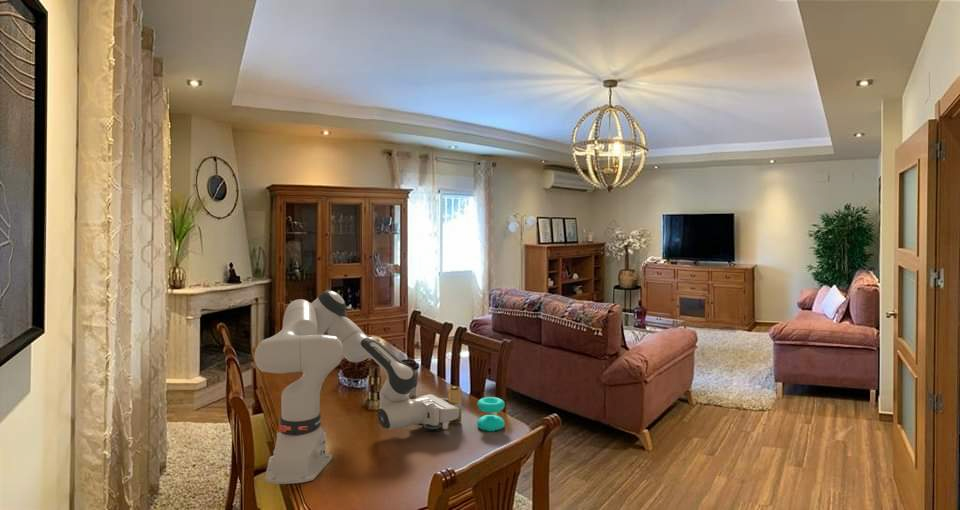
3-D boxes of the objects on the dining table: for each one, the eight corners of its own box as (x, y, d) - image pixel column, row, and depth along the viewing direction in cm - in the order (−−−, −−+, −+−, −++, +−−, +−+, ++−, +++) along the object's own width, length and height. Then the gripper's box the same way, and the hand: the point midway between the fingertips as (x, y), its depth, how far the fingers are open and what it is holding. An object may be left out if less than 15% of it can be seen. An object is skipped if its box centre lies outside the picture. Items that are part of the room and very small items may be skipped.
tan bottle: (461, 422, 192) (461, 388, 191) (448, 423, 191) (448, 389, 190) (460, 417, 197) (460, 385, 196) (447, 418, 196) (447, 385, 195)
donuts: (472, 401, 188) (486, 394, 197) (472, 428, 189) (485, 420, 197) (496, 406, 183) (509, 398, 192) (496, 434, 184) (509, 425, 192)
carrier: (443, 431, 186) (443, 424, 186) (423, 431, 185) (423, 425, 185) (442, 419, 197) (442, 412, 197) (423, 419, 197) (423, 413, 197)
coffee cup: (421, 392, 230) (421, 358, 229) (416, 399, 220) (416, 364, 219) (399, 391, 231) (399, 357, 230) (393, 398, 221) (393, 363, 220)
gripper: (409, 410, 194) (441, 403, 202) (437, 427, 178) (470, 419, 186) (409, 393, 194) (441, 387, 202) (437, 409, 177) (471, 402, 185)
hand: (455, 403), depth 194 cm, fingers closed on tan bottle, 5 cm apart
